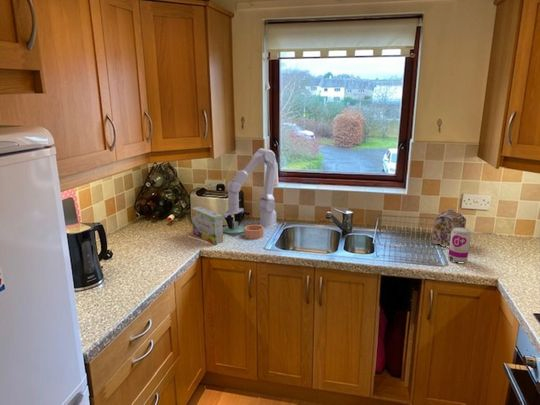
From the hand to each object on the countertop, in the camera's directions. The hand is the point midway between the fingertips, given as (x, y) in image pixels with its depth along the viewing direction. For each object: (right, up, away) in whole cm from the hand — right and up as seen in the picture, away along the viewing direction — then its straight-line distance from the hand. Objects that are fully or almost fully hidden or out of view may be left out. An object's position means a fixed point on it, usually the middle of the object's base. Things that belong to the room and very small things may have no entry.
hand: (233, 227), depth 228 cm
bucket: (+11, -5, -8) cm, 15 cm away
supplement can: (+107, -14, -36) cm, 114 cm away
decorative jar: (+111, -8, -15) cm, 112 cm away
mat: (0, -2, +1) cm, 2 cm away
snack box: (-13, -6, -12) cm, 18 cm away
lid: (0, -2, 0) cm, 2 cm away
